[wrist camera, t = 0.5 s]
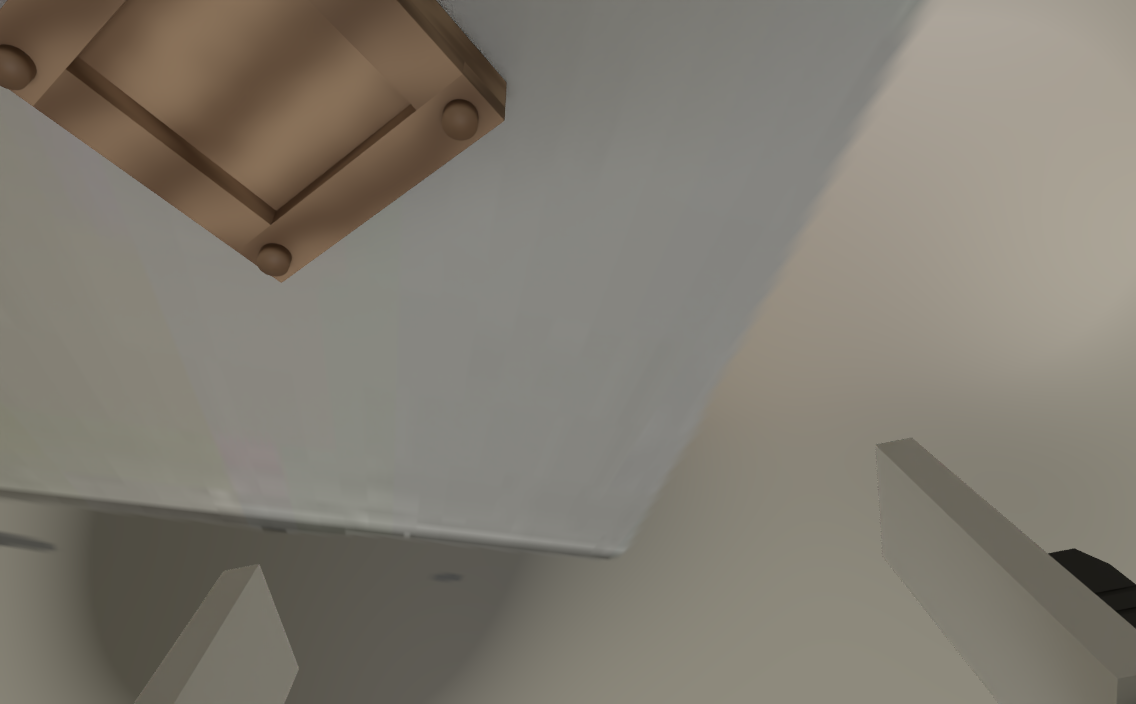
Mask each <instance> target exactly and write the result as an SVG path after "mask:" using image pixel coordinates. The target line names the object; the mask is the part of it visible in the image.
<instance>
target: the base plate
mask: <svg viewBox="0 0 1136 704" xmlns="http://www.w3.org/2000/svg"><path fill="white" fill-rule="evenodd" d="M506 84H507V83H506V82H505V80H504V79H503V78H502V77H501V76H500V75H499V73H498V72H497V71H496V70H495V69H494V68H493V66H492V65H491V64H490V63H489V62H488V61H487V59H486V58H485V57H484V56H483V55H482V54H481V52H480V51H479V50H478V49H477V48H476V47H475V45H474V44H473V43H472V42H471V41H470V40H469V38H468V37H467V36H466V35H465V34H464V33H463V31H462V30H461V29H460V28H459V27H458V26H457V24H456V23H455V22H454V21H453V20H452V19H451V17H450V16H449V15H448V14H447V13H446V12H445V10H444V9H443V8H442V7H441V6H440V5H439V3H438V2H437V1H436V0H7V1H6V3H5V4H4V5H3V7H2V8H1V9H0V86H2V87H4V88H7V89H9V90H11V91H12V92H13V93H15V94H16V95H18V96H19V97H21V98H22V99H23V100H25V101H26V102H28V103H29V104H30V105H32V106H33V107H35V108H36V109H37V110H39V111H40V112H42V113H43V114H44V115H46V116H47V117H49V118H50V119H51V120H53V121H54V122H56V123H57V124H59V125H60V126H61V127H63V128H64V129H66V130H67V131H68V132H70V133H71V134H73V135H74V136H75V137H77V138H78V139H80V140H81V141H82V142H84V143H85V144H87V145H88V146H89V147H91V148H92V149H94V150H95V151H96V152H98V153H99V154H101V155H102V156H104V157H105V158H106V159H108V160H109V161H111V162H112V163H113V164H115V165H116V166H118V167H119V168H120V169H122V170H123V171H125V172H126V173H127V174H129V175H130V176H132V177H133V178H134V179H136V180H137V181H139V182H140V183H142V184H143V185H144V186H146V187H147V188H149V189H150V190H151V191H153V192H154V193H156V194H157V195H158V196H160V197H161V198H163V199H164V200H165V201H167V202H168V203H170V204H171V205H172V206H174V207H175V208H177V209H178V210H179V211H181V212H182V213H184V214H185V215H187V216H188V217H189V218H191V219H192V220H194V221H195V222H196V223H198V224H199V225H201V226H202V227H203V228H205V229H206V230H208V231H209V232H210V233H212V234H213V235H215V236H216V237H217V238H219V239H220V240H222V241H223V242H225V243H226V244H227V245H229V246H230V247H232V248H233V249H234V250H236V251H237V252H239V253H240V254H241V255H243V256H244V257H246V258H247V259H248V260H250V261H251V262H253V263H254V264H255V265H257V266H258V268H259V269H260V270H261V271H262V272H264V273H265V274H267V275H270V276H272V277H274V278H275V279H277V280H278V281H279V282H281V283H282V282H283V281H285V280H286V279H287V278H289V277H290V276H292V275H293V274H294V273H296V272H297V271H298V270H300V269H301V268H303V267H304V266H305V265H307V264H308V263H309V262H311V261H312V260H314V259H315V258H316V257H318V256H319V255H320V254H322V253H323V252H325V251H326V250H327V249H329V248H330V247H331V246H333V245H334V244H336V243H337V242H338V241H340V240H341V239H342V238H344V237H345V236H347V235H348V234H349V233H351V232H352V231H353V230H355V229H356V228H358V227H359V226H360V225H362V224H363V223H364V222H366V221H367V220H369V219H370V218H371V217H373V216H374V215H375V214H377V213H378V212H380V211H381V210H382V209H384V208H385V207H386V206H388V205H389V204H391V203H392V202H393V201H395V200H396V199H397V198H399V197H400V196H402V195H403V194H404V193H406V192H407V191H408V190H410V189H411V188H413V187H414V186H415V185H417V184H418V183H419V182H421V181H422V180H424V179H425V178H426V177H428V176H429V175H430V174H432V173H433V172H435V171H436V170H437V169H439V168H440V167H441V166H443V165H444V164H446V163H447V162H448V161H450V160H451V159H452V158H454V157H455V156H457V155H458V154H459V153H461V152H462V151H463V150H465V149H466V148H468V147H469V146H470V145H472V144H473V143H474V142H476V141H477V140H479V139H480V138H481V137H483V136H484V135H485V134H487V133H488V132H489V131H491V130H492V129H494V128H495V127H496V126H498V125H499V124H500V123H502V122H503V121H504V120H505V102H506Z"/></svg>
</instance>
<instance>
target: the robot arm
mask: <svg viewBox="0 0 1136 704" xmlns="http://www.w3.org/2000/svg"><path fill="white" fill-rule="evenodd" d="M875 448H876V463H877V479H878V493H879V508H880V524H881V539H882V554H883V558H884V559H885V560H886V562H887V563H888V564H889V565H890V567H891V568H892V569H893V571H894V572H895V573H896V574H897V576H898V577H899V578H900V579H901V581H902V582H903V583H904V584H905V586H906V587H907V588H908V589H909V591H910V592H911V593H912V595H913V596H914V597H915V598H916V600H917V601H918V602H919V603H920V605H921V606H922V607H923V609H924V610H925V611H926V612H927V613H928V615H929V616H930V617H931V619H932V620H933V621H934V622H935V624H936V625H937V626H938V628H939V629H940V630H941V631H942V633H943V634H944V635H945V636H946V638H947V639H948V640H949V641H950V643H951V644H952V645H953V646H954V648H955V649H956V650H957V651H958V653H959V654H960V655H961V657H962V658H963V659H964V660H965V662H966V663H967V664H968V666H969V667H970V668H971V669H972V671H973V672H974V673H975V674H976V676H977V677H978V678H979V679H980V681H981V682H982V683H983V685H984V686H985V687H986V688H987V689H988V691H989V692H990V693H991V695H992V696H993V697H994V698H995V700H996V701H997V702H998V703H999V704H1136V584H1135V583H1133V582H1132V581H1131V580H1129V579H1128V578H1127V577H1126V576H1124V575H1123V574H1122V573H1120V572H1119V571H1118V570H1117V569H1115V568H1114V567H1113V566H1111V565H1110V564H1108V563H1106V562H1103V561H1101V560H1099V559H1097V558H1094V557H1092V556H1090V555H1088V554H1086V553H1083V552H1081V551H1079V550H1077V549H1069V550H1064V551H1059V552H1053V553H1046V552H1045V551H1044V550H1043V549H1042V548H1041V547H1039V546H1038V545H1037V544H1036V543H1035V542H1033V541H1032V540H1031V539H1030V538H1029V537H1028V536H1027V535H1025V534H1024V533H1023V532H1022V531H1021V530H1019V529H1018V528H1017V527H1016V526H1015V525H1014V524H1012V523H1011V522H1010V521H1009V520H1008V519H1007V518H1005V517H1004V516H1003V515H1002V514H1001V513H1000V512H998V511H997V510H996V509H995V508H994V507H993V506H991V505H990V504H989V503H988V502H987V501H985V500H984V499H983V498H982V497H981V496H980V495H978V494H977V493H976V492H975V491H974V490H973V489H971V488H970V487H969V486H968V485H967V484H966V483H964V482H963V481H962V480H961V479H960V478H958V477H957V476H956V475H955V474H954V473H953V472H951V471H950V470H949V469H948V468H947V467H946V466H944V465H943V464H942V463H941V462H940V461H939V460H937V459H936V458H935V457H934V456H933V455H932V454H930V453H929V452H928V451H927V450H926V449H924V448H923V447H922V446H921V445H920V444H919V443H918V442H916V441H915V440H914V439H913V438H907V439H902V440H896V441H891V442H886V443H881V444H876V445H875ZM298 669H299V667H298V665H297V662H296V660H295V657H294V654H293V652H292V649H291V646H290V644H289V641H288V639H287V636H286V633H285V631H284V628H283V626H282V623H281V620H280V617H279V615H278V612H277V610H276V607H275V604H274V602H273V599H272V596H271V594H270V591H269V589H268V586H267V583H266V581H265V578H264V575H263V573H262V570H261V568H260V565H259V564H257V565H252V566H246V567H241V568H237V569H231V570H226V571H223V573H222V574H221V576H220V577H219V579H218V580H217V582H216V583H215V585H214V586H213V588H212V589H211V590H210V592H209V593H208V595H207V596H206V598H205V599H204V601H203V602H202V604H201V605H200V607H199V608H198V610H197V611H196V613H195V614H194V616H193V617H192V619H191V620H190V621H189V623H188V624H187V626H186V627H185V629H184V630H183V632H182V633H181V635H180V636H179V638H178V639H177V641H176V642H175V643H174V645H173V646H172V648H171V649H170V651H169V652H168V654H167V655H166V657H165V658H164V660H163V661H162V663H161V664H160V666H159V667H158V669H157V670H156V671H155V673H154V675H153V676H152V677H151V679H150V680H149V682H148V683H147V685H146V686H145V688H144V689H143V691H142V692H141V694H140V695H139V697H138V698H137V699H136V701H135V702H134V704H284V702H285V700H286V698H287V695H288V693H289V691H290V688H291V686H292V683H293V681H294V679H295V676H296V674H297V672H298Z"/></svg>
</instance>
